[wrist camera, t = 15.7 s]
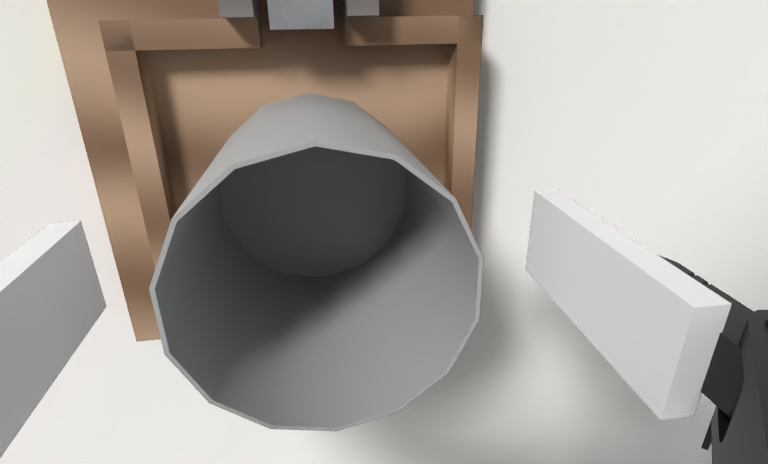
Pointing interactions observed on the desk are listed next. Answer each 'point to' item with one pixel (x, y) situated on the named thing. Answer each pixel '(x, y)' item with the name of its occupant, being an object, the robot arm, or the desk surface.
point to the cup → (316, 271)
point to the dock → (251, 97)
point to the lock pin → (300, 14)
